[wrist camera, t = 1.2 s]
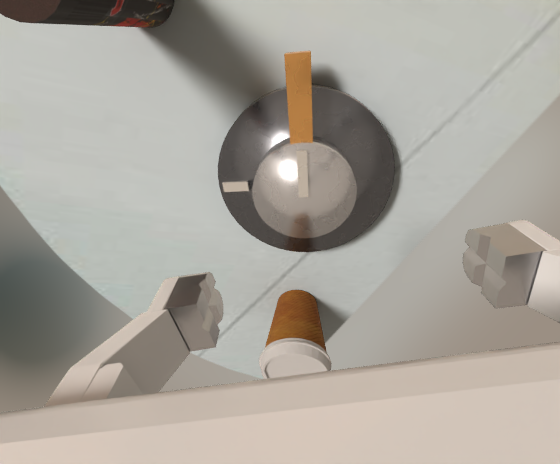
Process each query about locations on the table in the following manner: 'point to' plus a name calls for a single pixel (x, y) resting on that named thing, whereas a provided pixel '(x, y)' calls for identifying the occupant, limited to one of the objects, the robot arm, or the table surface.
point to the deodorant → (89, 12)
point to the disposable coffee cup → (295, 338)
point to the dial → (303, 168)
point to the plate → (326, 124)
